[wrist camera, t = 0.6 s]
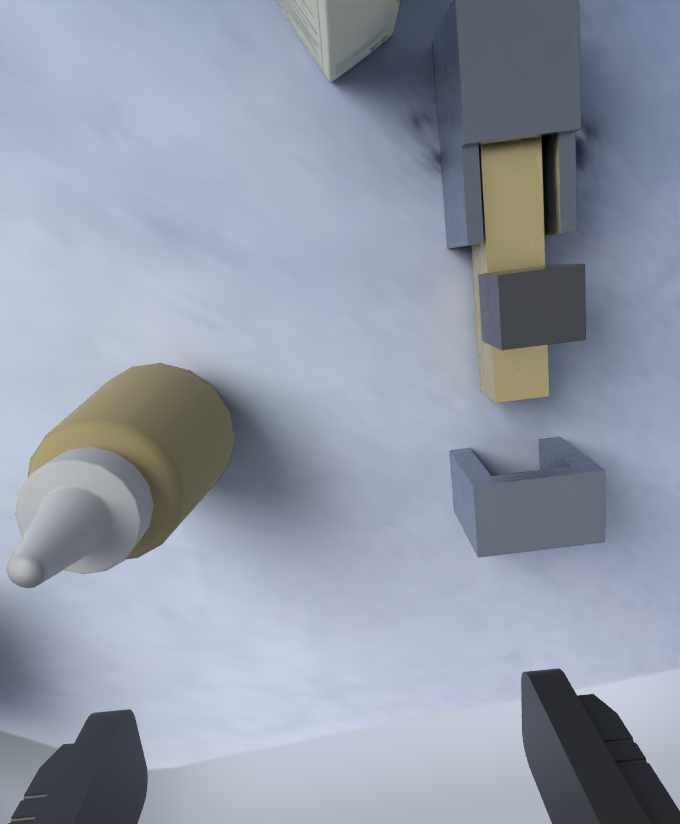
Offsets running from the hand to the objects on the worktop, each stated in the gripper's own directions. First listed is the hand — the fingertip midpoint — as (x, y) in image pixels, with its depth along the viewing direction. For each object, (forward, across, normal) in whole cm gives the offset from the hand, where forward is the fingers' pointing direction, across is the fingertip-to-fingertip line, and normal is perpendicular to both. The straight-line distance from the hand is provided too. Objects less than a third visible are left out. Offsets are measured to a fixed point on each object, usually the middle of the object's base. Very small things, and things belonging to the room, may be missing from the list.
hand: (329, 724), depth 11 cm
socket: (+24, -11, +5) cm, 27 cm away
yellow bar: (+24, -11, -10) cm, 28 cm away
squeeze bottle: (+24, +9, -1) cm, 26 cm away
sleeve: (+24, -10, -14) cm, 30 cm away
